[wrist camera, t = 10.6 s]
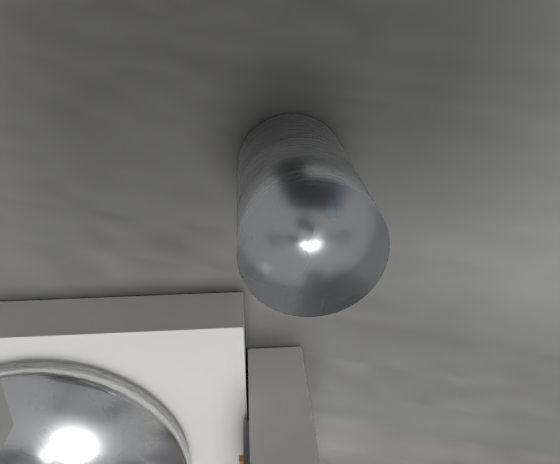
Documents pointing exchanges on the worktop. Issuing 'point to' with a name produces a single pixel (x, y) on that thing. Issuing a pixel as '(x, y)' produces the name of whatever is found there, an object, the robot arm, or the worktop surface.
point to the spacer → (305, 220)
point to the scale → (179, 368)
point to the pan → (84, 419)
